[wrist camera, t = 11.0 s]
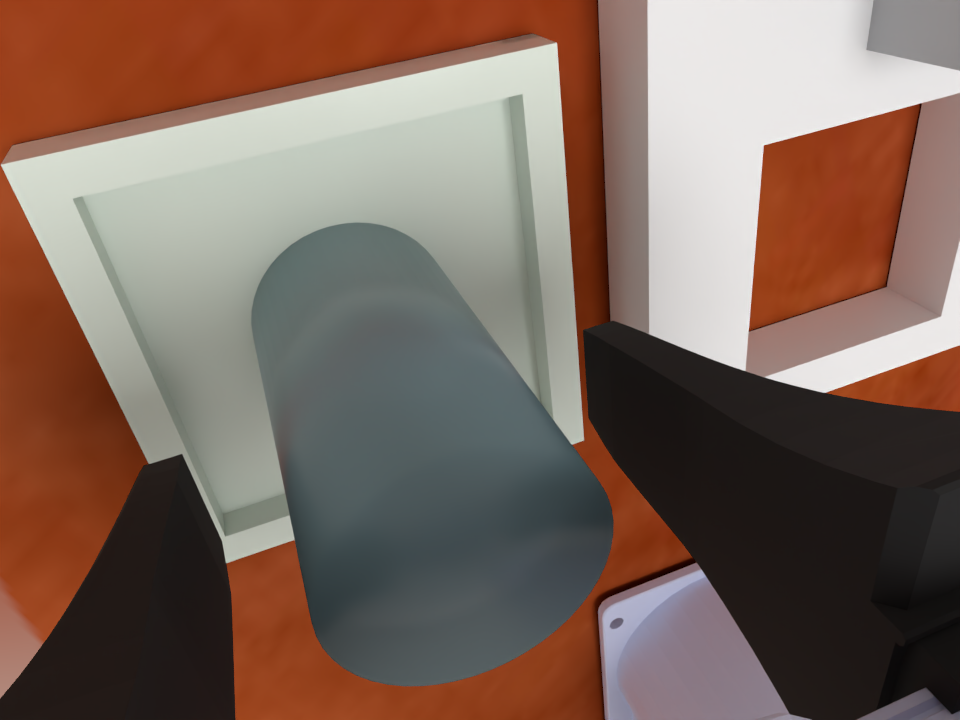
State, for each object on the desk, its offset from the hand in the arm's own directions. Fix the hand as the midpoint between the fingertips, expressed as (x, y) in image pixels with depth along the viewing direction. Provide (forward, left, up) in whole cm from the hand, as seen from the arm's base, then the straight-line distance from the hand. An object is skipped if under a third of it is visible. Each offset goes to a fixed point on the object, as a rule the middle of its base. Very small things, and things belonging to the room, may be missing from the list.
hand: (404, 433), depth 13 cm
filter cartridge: (0, 0, -4) cm, 4 cm away
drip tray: (0, 0, -5) cm, 5 cm away
